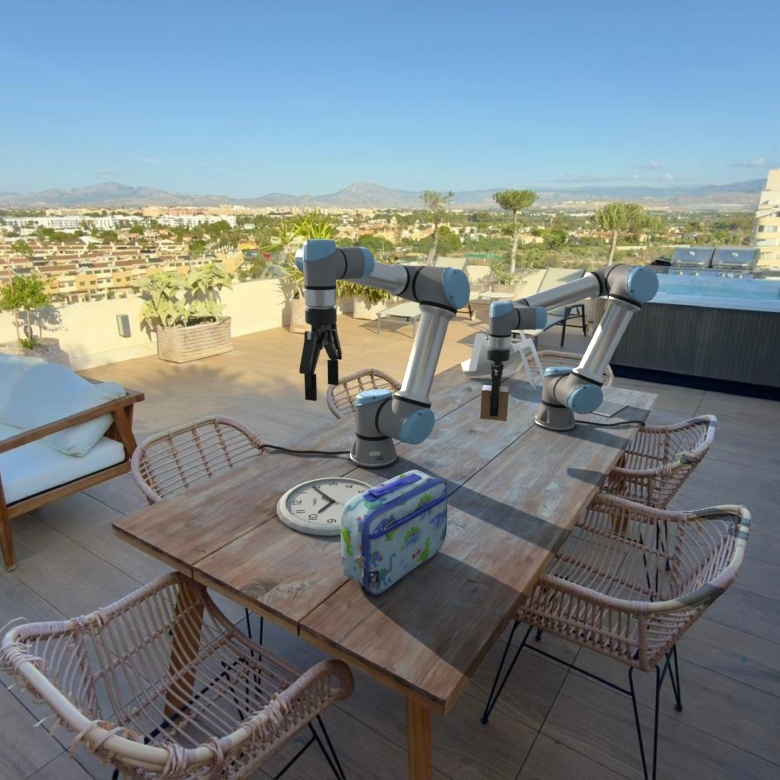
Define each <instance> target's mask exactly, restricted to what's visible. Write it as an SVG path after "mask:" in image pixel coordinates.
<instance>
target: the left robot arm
mask: <svg viewBox="0 0 780 780" xmlns="http://www.w3.org/2000/svg"><path fill="white" fill-rule="evenodd" d="M336 244H337V243H336V241H335V240H334V239H330V238H329V239H327V238H324V239H323V238H321V239H320V238H309V239H306V240H304V242H303V245H302V246H301V247H299V248H298V249H297V251H296V253H295V259H294V262H295V266H296V268H297V270H298V271H299V272H301V274H303V286H304V287H303V288H304V289H303V290H304V291H303V293H302V294H303V296H304V305H305V306H306V307H305V308H304V322H305V324H308V325H310V330H305V331H304V335H303V344H302V345H303V347H302V351H301V357H300V363H299V370H298V371H299V374H302V375H303V376H304V400H305V401H311V402H317V400H318V389H317V387H318V386H317V385H318V384H317V373H315V372H316V368H317V365H318V361H319V358H320V354H321V351H322V350H325V352H326V354H327V357H328V359H327V362H326V364H327V385H330V386H339V383H340V382H339V380H340V379H339V361H342V360H343V356H342V354H343V351H342V348H341V342H340V338H339V334H338V324H337V322H338V314H337V313H338V310H337V307H335V306H337V305H338V299H337V298H338V297H337V295H338V294H337V281H341V282H346V283H351V284H355V285H360V286H365V287H369V288H373V289H379V290H381V291H385V292H386V293H387V294H388V295H390V296H394V297H398V298H401V299H404V300H407V301H410V302H413V303H417V304H418V308H419V311H420V312H421V314H420V315H421V316H420V319H419V323H418V326H417V327H418V328H417V330H416V333H415V336H414V341H413V344H412V348H411V352H410V354H409V355H410V356H409V358H408V363H407V367H406V369H405V370H406V371H405V374H404V376H403V380H402V385H401V388H400V389H399V390H397V391H396V392H395V393H394V395H393V392H392V391H391V390H390V389H386V388H385V389H384V388H375V389H368V390H363V391H361V392H359V393H358V394H357V395H356V396H355V405H354V416H355V417H354V420H355V421H354V423H355V437H354V441H353V443H352V447H351V449H350V450H338V451H326V450H325V451H324V450H300V449H289V448H286V447H283V446H278V445H273V444H267V443H263V444H260V445H259V446H258V447H257V450H261V449H263V448H268V449H269V448H270V449H273V450H278V451H279V450H280V451H283V452H287V453H290V454H291V453H292V454H315V455H331V456H335V455H337V456H338V455H349V460H350V462H351V463H352V464H353V465H355V466H357V467H361V468H366V469H381V468H386V467H389V466H392V465H393V464H394V463H396V462H397V459H398V458H397V457H398V455H397V450H396V447H395V443H394V441H393V439H394V440H397V441H400V442H401V443H402V444H403V443H405V444H409V445H413V446H414V445H419V444H422V443H423V442H424V441H425V440H427V439H428V438H429V436H430V435H431V433H432V432H433V429H434V427H435V423H436V418H435V413H434V412H433V411H432V410H431V407H432V401H431V399H430V392H431V389H432V386H433V382H434V378H435V374H436V370H437V367H438V363H439V360H440V356H441V352H442V349H443V345H444V341H445V338H446V335H447V332H448V331H447V330H448V327H449V324H450V321H451V320H453V319H454V318H456V317H457V314H458V310H461V309H464V308H465V307H466V306H467V305H468V303H469V300H470V297H471V285H470V281H469V278H468V275H467V274H466V273H465V272H464V271H463V270H462V269H460V268H454V267H451V266H446V267H444V266H433V265H407V264H400V263H393V264H387V263H384V262H380V261H376V260H375V257H374V254H373V252H372V251H371V250H370V249H369V248H367V247H362V246H352V247H351V246H337V245H336Z"/></svg>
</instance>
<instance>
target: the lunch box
mask: <svg viewBox="0 0 780 780" xmlns="http://www.w3.org/2000/svg"><path fill="white" fill-rule="evenodd" d="M447 528H448V487H447V483H446V481H445V480H444V479H442V478H434V477H432V476H431V475H429V474H427V473H425V472H424V471H421V470H419V469H412V470H409V471H406V472H404V473H401V474H399V475H397V476H394V477H393V478H390V479H388V480H386V481H384V482H382V483H380V484H378V485H374V487H373V488H371V489H369V490H367V491H365V492H363V493H361V494H358V495H356V496H355V497H353V498H351V499H350V500H349V501H348V502H347V503H346V505H345V506H344V508H343V510H342V513H341V519H340V533H341V535H340V548H341V553H340V554H341V555H340V556H341V568H342V572H343V574H344V576H345V577H347V578H348V579H350V580H351V581H354V582H356V583H357V584H358V585H360V586H362V587H363V588H364V589H365V590H366V592H368V593H370V594H372V595H375V596H378V595H381V594H383V593H384V592H386V591H387V590H388V589H390V587H392V586H394V585H395V583H398V582H399V581H400V580H401V579H403V578H405V577H406V576H408V574H410V573H411V572H413V571H414V570H415V569H416V568H417V567H419V566H420V565H422V564H423V563H425V562H426V561H428V560H429V559H431V558H433V557H434V556H435V555H437V553H439V552H440V550H441V548H442V546H443V545H444V542H445V539H446V536H447V530H448V529H447Z"/></svg>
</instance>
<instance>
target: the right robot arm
mask: <svg viewBox="0 0 780 780" xmlns="http://www.w3.org/2000/svg"><path fill="white" fill-rule="evenodd" d="M659 287H660V280H659V278H658V275H657V273H656V271H654V269H652V268H651V267H648V266H644V265H642V264H638V265H635V264H626V263H614V264H610V265H607V266H604V267H600V268H598V269H594V270H593V271H588V272H587V273H585V274H584V276H583V277H581V278H578V279H575V280H572V281H569V282H566V283H562V284H559V285H556V286H554V287H551V288H549V289H546V290H543V291H539V292H536V293H534V294H531V295H528V296H525V297H522V298H519V299H516V300H512V299H511V300H510V299H509V300H504V301H502V300H498V301H497V300H496V301H493V302H491V304H490V307H489V313H488V333H487V335H488V336H487V338H486V340H487V341H488V347H489V348H488V349H487V359H488V360H491V361H494V364H492V365H491V370H492V374H490V376H491V385H492V388H491V396H489V398H491V403H490V416H497V417H498V405H499V386H502V385H501V384H502V378H503V377H502V376H503V373H504V372H503V371H504V369H503V367H504V364H502V361H508V360H509V357H510V350H509V349H508V348H510V345H511V342H512V331H519V330H523V331H531V330H532V331H536V330H543V329H544V328H545V327H546V326H547V324H548V318H549V316H548V312H550V311H555V310H556V309H560V308H562V307H565V306H568V305H570V304H574V303H577V302H580V301H583V300H585V299H589V298H591V299H598V298H601V297H606V300H607V302H608V305H607V307H606V309H605V311H604V313H603V316H602V317H601V319H600V321H599V323H598V326H597V328H596V329H595V331H594V334H593V336H592V338H591V340H590V342H589V344H588V346H587V348H586V350H585V353H584V354H583V356H582V358H581V361H580V363H579V365H578V366H577V367H571V366H558V365H557V366H549V367H547V368H546V369H545V370H544V382H542V394H541V402H540V405H539V407H538V410H537V411H536V413H535V415H534V424H535V425H536V426H537V427H539V428H542V429H544V430H549V431H556V432H567V431H572V430H574V429H575V428H576V423H577V424H586V425H592V426H597V427H598V426H599V427H617V426H620V425H630V424H640V425H642V426H643V427H646V426H647V425H646V423H645V422H644V421H641V420H636V419H633V420H628V421H619V422H615V423H601V422H593V421H587V420H578V419H576V418H575V417H576V416H575V413H576V414H579V415H589V414H591V413H592V412H593V411H595V410H596V409H597V408H598V407H599V406H600V405H601V403H602V401H603V399H604V394H603V390H602V388H603V385H604V384H605V381H604V379H603V376H604V373H605V372H606V369H607V367H608V366H609V363H610V361H611V359H612V357H613V355H614V352H615V351H616V349H617V347H618V346H619V343H620V341H621V339H622V337H623V335H624V333H625V331H626V329H627V327H628V325H629V323H630V321H631V319H632V317H633V315H634V314H635V313H637V312H639V311H641V309H642V308H643V305H644V304H645V303H648V302H650V301H652V300H653V299H654V298H655V297H656V296H657V293H658V291H659Z"/></svg>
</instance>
